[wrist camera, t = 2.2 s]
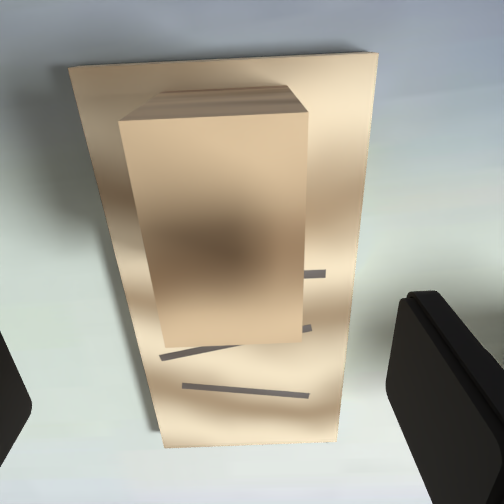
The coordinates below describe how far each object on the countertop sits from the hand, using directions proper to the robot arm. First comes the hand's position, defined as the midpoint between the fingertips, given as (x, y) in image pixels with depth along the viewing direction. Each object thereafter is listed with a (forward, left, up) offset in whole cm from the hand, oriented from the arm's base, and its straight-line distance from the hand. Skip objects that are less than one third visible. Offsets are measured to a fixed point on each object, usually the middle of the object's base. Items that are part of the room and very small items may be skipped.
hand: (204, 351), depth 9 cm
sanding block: (-1, 0, -10) cm, 10 cm away
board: (+6, 0, -11) cm, 13 cm away
